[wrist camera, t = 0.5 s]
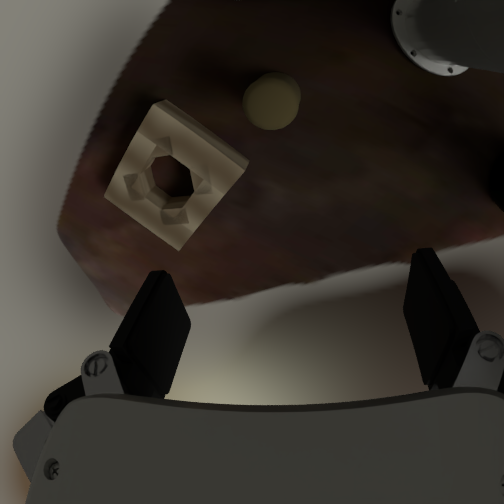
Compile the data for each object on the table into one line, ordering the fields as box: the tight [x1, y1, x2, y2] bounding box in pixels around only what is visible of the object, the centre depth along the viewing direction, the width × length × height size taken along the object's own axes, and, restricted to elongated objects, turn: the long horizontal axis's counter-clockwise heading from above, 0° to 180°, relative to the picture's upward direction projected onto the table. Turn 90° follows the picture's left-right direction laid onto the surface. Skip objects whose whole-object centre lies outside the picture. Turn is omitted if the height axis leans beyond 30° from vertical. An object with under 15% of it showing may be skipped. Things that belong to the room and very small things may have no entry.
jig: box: [104, 100, 249, 251], centre depth 39 cm, size 16×14×4 cm
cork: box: [243, 72, 301, 130], centre depth 28 cm, size 6×6×11 cm
